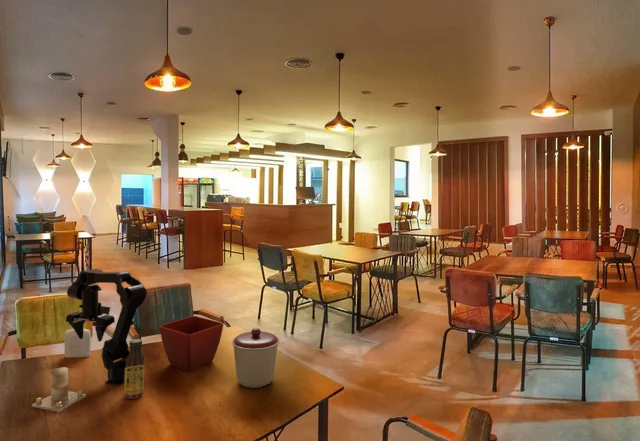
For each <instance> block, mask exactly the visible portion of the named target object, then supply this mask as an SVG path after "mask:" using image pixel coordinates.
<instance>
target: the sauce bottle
mask: <svg viewBox="0 0 640 441" xmlns="http://www.w3.org/2000/svg"><path fill="white" fill-rule="evenodd" d="M142 344H143V340H142V339H141V338H133V339H131V340H129V344H128V346H129V355H128V357H127V359H126V366H125V382H124V386H123V387H124V388H123V390H124V391H123V392H124V398H125V399H127V400H134V399H135V400H136V399H138V398H141V397H142V396H143V394H144V386H145V385H144V383H145V356H144V355H143V353H142Z"/></svg>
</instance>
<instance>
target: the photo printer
mask: <svg viewBox="0 0 640 441" xmlns="http://www.w3.org/2000/svg"><path fill="white" fill-rule="evenodd" d="M91 334H92V333H91V330H90V329H86V328H83V338H82V339H80V338H79V337H78V335H77V334H76V332H75V330H74V329H73V328H70V329H68V330H66V331H65V332H64V358H71V359H72V358H89V357H90V356H91V352H90V351H91V349H92V348H91V347H92V346H91V344H92V343H91V342H92V341H91V336H92V335H91Z"/></svg>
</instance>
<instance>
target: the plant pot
mask: <svg viewBox="0 0 640 441" xmlns="http://www.w3.org/2000/svg"><path fill="white" fill-rule="evenodd" d="M223 330H224V323H223V322H219V321H217V320H216V321H215V320H213V319H209V318H205V317H201V316H197V315H194V316H193V315H192V316H188V317H185V318H182V319H178V320H175V321H171V322H168V323H163V324H161V325H159V332H160V338H161V342H162V346H163V349H164V352H165V354H166V356H167V360H168V363H169V364H170V365H172V366H173V367H176V368H179V369H182V370H184V371H186V372H191V371H194V370H197V369H199V368H202V367H204V366H206V365H208V364H211V363H213V360H214V359H215V356H216V353H217V350H218V347H219V344H220V342H221V337H222V334H223Z"/></svg>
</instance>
